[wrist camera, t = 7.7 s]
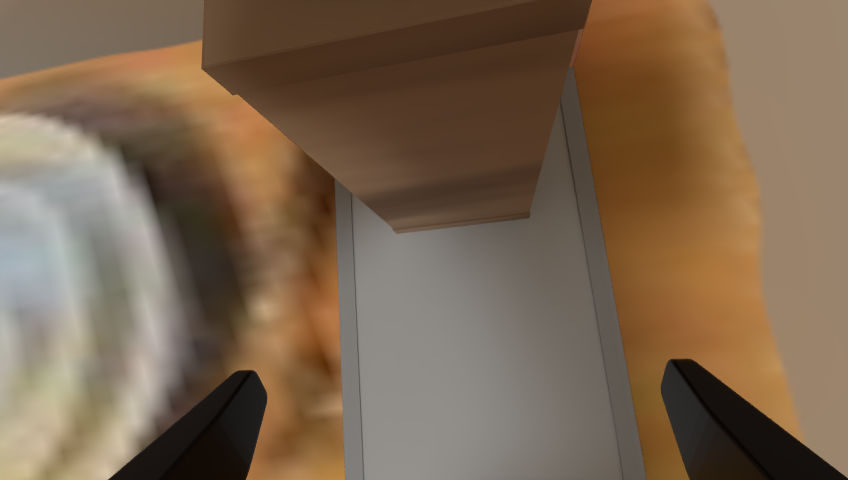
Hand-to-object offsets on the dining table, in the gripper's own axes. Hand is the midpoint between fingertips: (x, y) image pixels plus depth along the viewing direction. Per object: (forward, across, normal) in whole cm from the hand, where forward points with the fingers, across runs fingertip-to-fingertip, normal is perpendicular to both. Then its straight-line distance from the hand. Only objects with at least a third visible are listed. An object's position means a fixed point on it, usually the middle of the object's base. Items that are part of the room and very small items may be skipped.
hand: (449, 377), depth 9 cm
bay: (+10, 0, +3) cm, 10 cm away
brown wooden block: (+12, 0, 0) cm, 12 cm away
